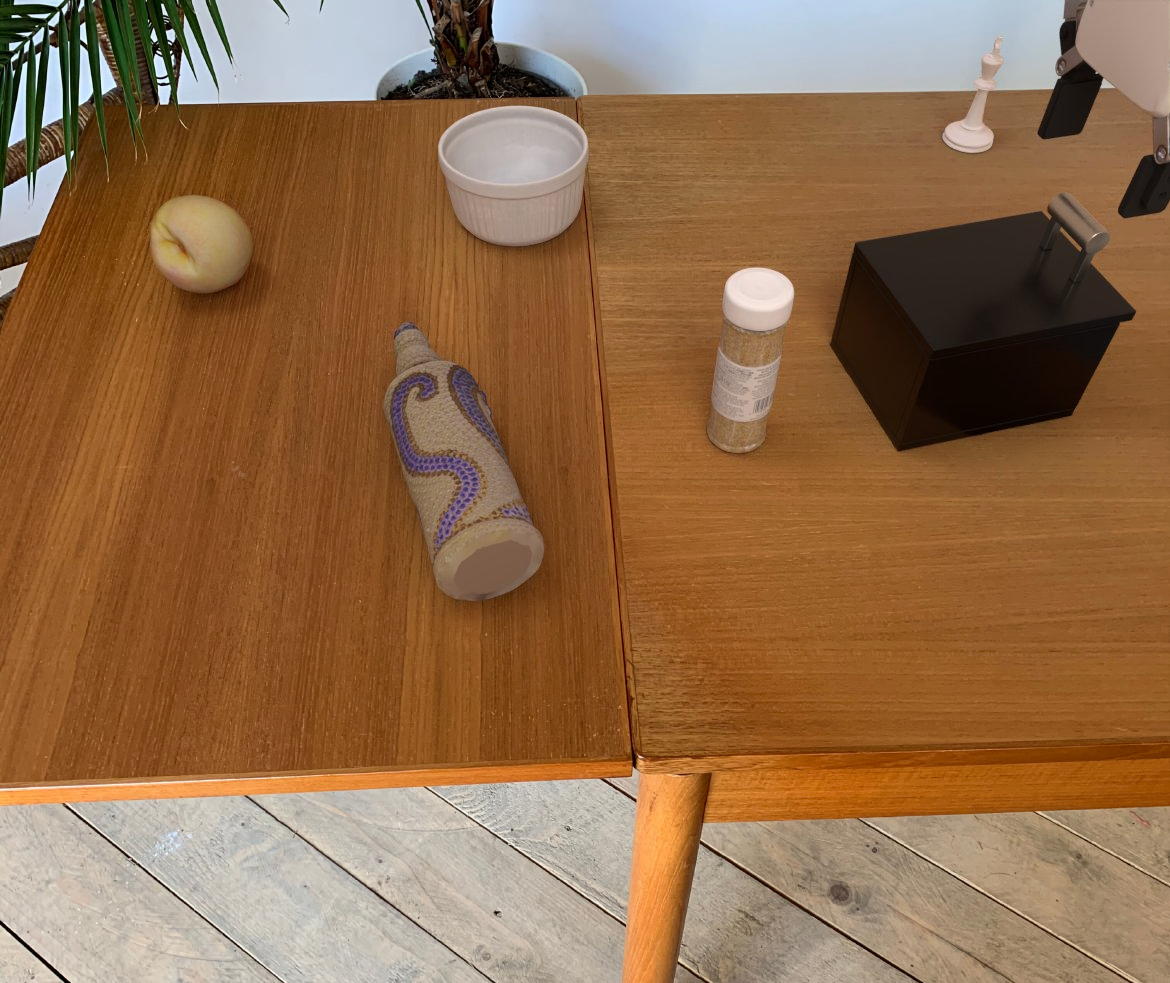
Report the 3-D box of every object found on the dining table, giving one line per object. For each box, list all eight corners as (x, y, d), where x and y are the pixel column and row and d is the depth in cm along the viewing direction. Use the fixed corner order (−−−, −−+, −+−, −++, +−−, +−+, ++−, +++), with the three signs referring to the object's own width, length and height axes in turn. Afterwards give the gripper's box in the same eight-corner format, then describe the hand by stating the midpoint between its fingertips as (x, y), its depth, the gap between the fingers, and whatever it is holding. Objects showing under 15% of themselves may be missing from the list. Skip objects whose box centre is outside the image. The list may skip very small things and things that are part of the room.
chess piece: (941, 149, 100) (972, 46, 92) (943, 124, 103) (973, 22, 95) (992, 156, 100) (1028, 52, 92) (992, 130, 102) (1027, 27, 94)
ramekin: (423, 241, 91) (413, 170, 85) (476, 165, 99) (469, 94, 93) (563, 268, 89) (562, 196, 83) (606, 187, 96) (607, 116, 91)
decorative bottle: (552, 587, 68) (548, 522, 62) (442, 616, 66) (429, 552, 61) (459, 346, 82) (450, 277, 77) (368, 366, 81) (352, 297, 76)
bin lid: (1037, 219, 78) (1062, 158, 74) (1132, 320, 70) (1165, 259, 67) (852, 251, 75) (867, 190, 71) (930, 359, 68) (951, 297, 64)
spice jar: (743, 406, 78) (768, 256, 67) (777, 442, 76) (810, 293, 65) (693, 426, 77) (711, 277, 66) (727, 464, 74) (751, 316, 64)
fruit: (152, 284, 87) (117, 200, 81) (238, 247, 90) (211, 164, 84) (192, 327, 84) (160, 243, 77) (281, 287, 87) (256, 203, 81)
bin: (990, 315, 85) (1027, 222, 78) (1072, 416, 77) (1120, 323, 70) (829, 345, 82) (852, 251, 75) (897, 452, 75) (930, 359, 68)
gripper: (1408, -69, 49) (1227, 238, 63) (1191, -185, 59) (1076, 102, 73) (1277, -54, 48) (1122, 256, 62) (1079, -175, 58) (982, 115, 72)
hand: (1097, 172), depth 67 cm, fingers open, 9 cm apart
